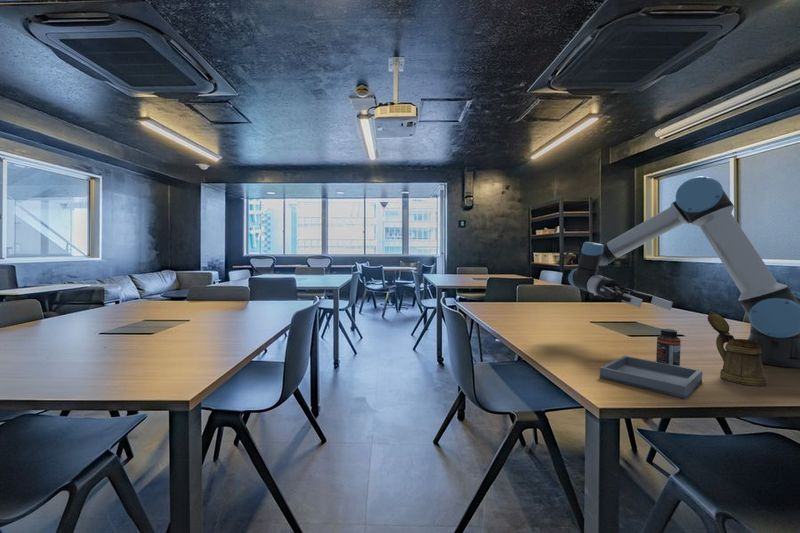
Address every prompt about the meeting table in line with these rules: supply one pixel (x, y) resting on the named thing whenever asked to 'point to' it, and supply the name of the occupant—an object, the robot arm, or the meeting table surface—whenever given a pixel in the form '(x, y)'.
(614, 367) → the grey tray
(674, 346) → the supplement bottle
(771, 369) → the meeting table surface
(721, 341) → the wooden mug
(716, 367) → the meeting table surface
